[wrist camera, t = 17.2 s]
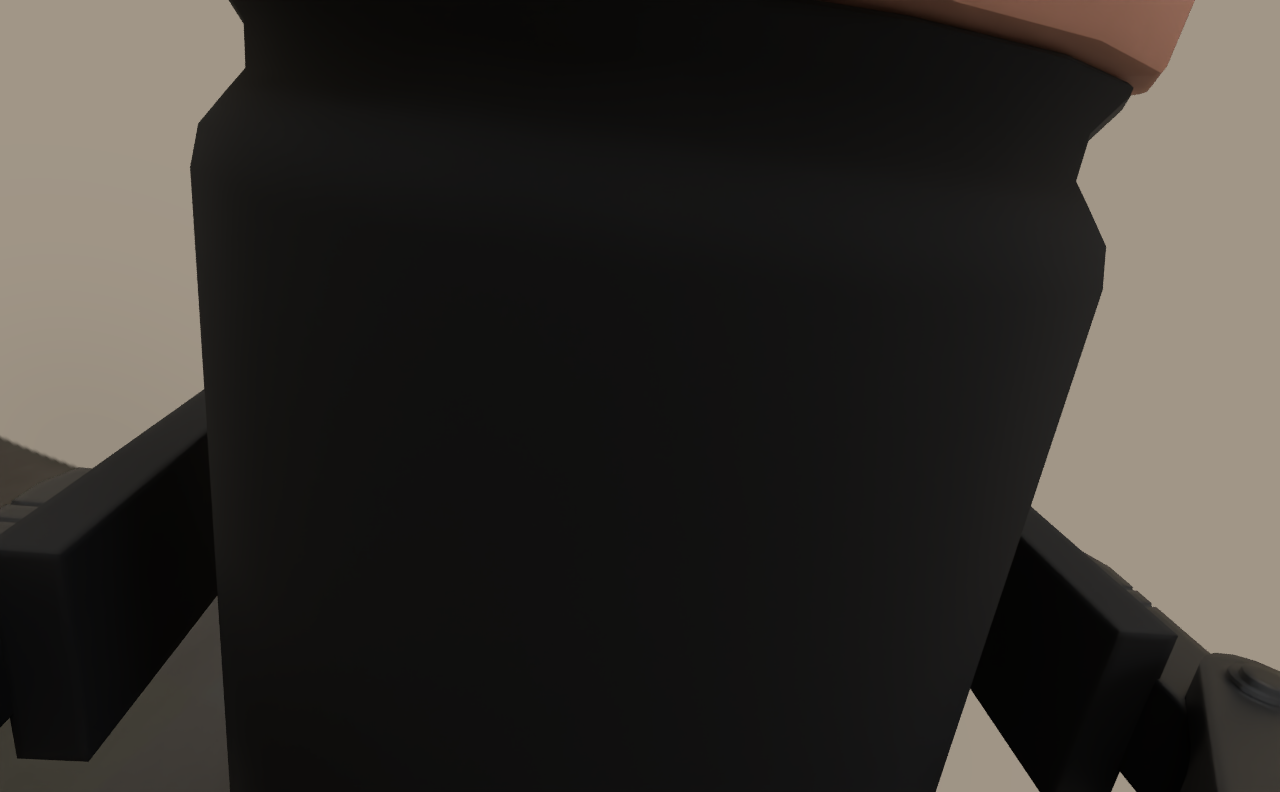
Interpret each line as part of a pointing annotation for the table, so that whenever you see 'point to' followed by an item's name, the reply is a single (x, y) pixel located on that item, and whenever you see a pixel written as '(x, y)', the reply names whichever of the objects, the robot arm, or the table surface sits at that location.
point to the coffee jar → (637, 377)
